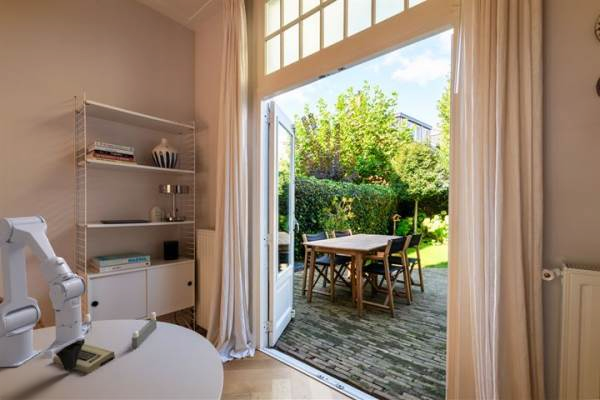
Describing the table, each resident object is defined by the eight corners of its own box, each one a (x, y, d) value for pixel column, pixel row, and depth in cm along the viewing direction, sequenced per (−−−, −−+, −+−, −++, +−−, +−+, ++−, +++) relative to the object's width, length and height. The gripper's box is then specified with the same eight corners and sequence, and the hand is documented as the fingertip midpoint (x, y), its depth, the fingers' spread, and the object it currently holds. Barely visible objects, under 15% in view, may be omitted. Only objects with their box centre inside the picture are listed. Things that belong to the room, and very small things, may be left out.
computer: (52, 364, 84) (52, 353, 84) (81, 350, 92) (81, 340, 92) (87, 376, 79) (87, 364, 79) (115, 360, 87) (115, 349, 86)
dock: (56, 351, 91) (56, 332, 91) (87, 329, 105) (86, 314, 105) (137, 348, 92) (136, 330, 92) (156, 327, 106) (156, 312, 106)
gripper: (63, 333, 72) (64, 385, 73) (100, 310, 87) (101, 353, 87) (34, 334, 72) (36, 386, 72) (76, 311, 87) (77, 354, 87)
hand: (70, 368), depth 80 cm, fingers closed
